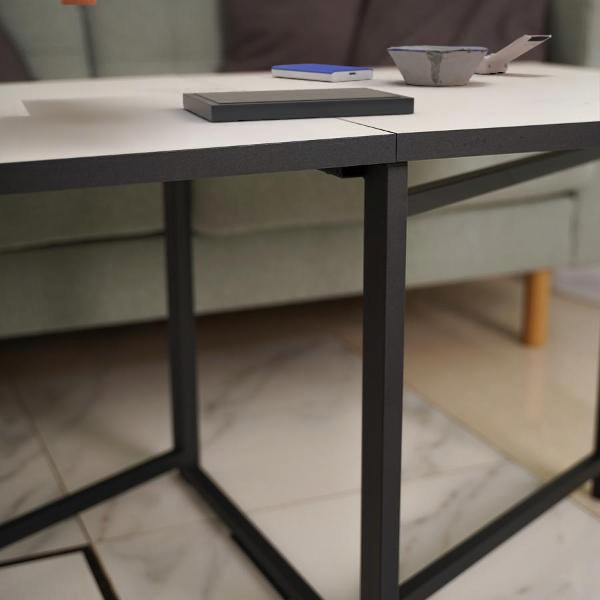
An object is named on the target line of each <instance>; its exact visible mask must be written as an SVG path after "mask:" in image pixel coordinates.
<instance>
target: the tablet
mask: <svg viewBox="0 0 600 600" xmlns="http://www.w3.org/2000/svg"><path fill="white" fill-rule="evenodd" d="M183 107H184V108H186V109H188V110H190V111H192V112H194V113H196V114H198V115H197V116H199V115H200V116H199V117H201V116H202V117H201V118H203V117H204V118H203V119H205V118H206V119H205V120H207V121H209V122H211V123H219V122H218V121H229V122H239V121H238V120H252V121H263V120H262V119H276V120H290V119H289V118H299V119H306V118H305V117H322V118H341V117H345V118H346V117H365V116H387V115H388V116H390V115H412V114H414V113H415V97H411V96H407V95H402V94H397V93H394V92H393V93H392V92H388V91H384V90H383V91H382V90H379V89H373V88H369V87H337V88H307V89H306V88H305V89H277V90H276V89H275V90H247V91H246V90H245V91H244V90H243V91H213V92H212V91H211V92H184V93H182V108H183ZM184 108H183V109H184ZM186 109H185V110H186ZM188 110H187V111H188ZM190 111H189V112H190ZM192 112H191V113H192ZM194 113H193V114H194ZM196 114H195V115H196Z"/></svg>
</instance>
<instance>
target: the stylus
mask: <svg viewBox="0 0 600 600" xmlns="http://www.w3.org/2000/svg"><path fill="white" fill-rule="evenodd" d="M59 2H60V5H61V6H97V4H98V0H59Z"/></svg>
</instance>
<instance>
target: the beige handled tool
mask: <svg viewBox="0 0 600 600" xmlns="http://www.w3.org/2000/svg"><path fill="white" fill-rule="evenodd" d="M550 38H552V35H551V34H549V35H545V34H544V35H543V34H542V35H541V34H540V35H538V34H534V35H528V34H523V36H520V37H519V38H517V39H515V40H514V41H513V42H511V43H510V44H508V45H507V46H505V47H503V48H502V49H500V50H499V51H497V52H496V53H490V54H487V53H486V55H485V56H484V58H483V60H482V61H481V63H480V65H479V66H478V68H477V69H476V71H475V72H474V74H478V75H479V74H481V75H491V74H490V73H496V74H499V73H498V72H505V73H507V71H508V70H509V69H508V68H509V65H510V62H512V61H513V60H515V59H517V58H518V57H520V56H521V55H523V54H525V53H527V52H529V51H530V50H532V49H533V48H535V47H537V46H538V45H540V44H542V43H543V42H546V41H547V40H548V39H550Z"/></svg>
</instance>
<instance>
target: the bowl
mask: <svg viewBox="0 0 600 600" xmlns="http://www.w3.org/2000/svg"><path fill="white" fill-rule="evenodd" d="M489 50H490V48H488V47H486V46H478V45H475V46H473V45H472V46H467V45H465V46H464V45H455V46H453V45H452V46H451V45H450V46H449V45H426V44H425V45H424V44H423V45H404V46H390V47H388V48H386V51H387V52H388V54H389V56H390V57H391V59H392V60H393V62H394V64H395V65H396V67H397V69H398V72H399V73H400V75H401V76H402V78H403V80H404V82H405V83H406V84H407V85H413V86H423V87H425V86H427V87H452V86H453V87H454V86H455V87H456V86H465V85H467V84H468V83H469V81H471V78H472V77H473V76H474V74H475V73H474V72H475V71H476V69H477V68H478V66H479V65H480V63H481V61H482V60H483V58H484V56H485V55H486V54H487V53H488V52H489Z"/></svg>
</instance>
